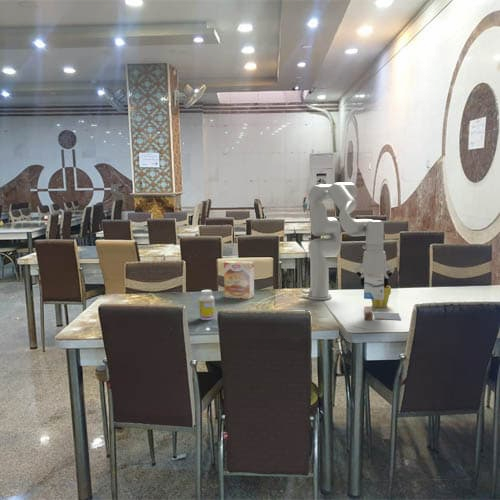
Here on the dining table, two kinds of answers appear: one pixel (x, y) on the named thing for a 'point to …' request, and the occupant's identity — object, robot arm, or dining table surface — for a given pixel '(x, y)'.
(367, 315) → the rail
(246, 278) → the coffeecake box
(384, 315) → the mat
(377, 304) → the plant pot
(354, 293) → the dining table surface
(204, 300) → the supplement bottle
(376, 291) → the ink box
